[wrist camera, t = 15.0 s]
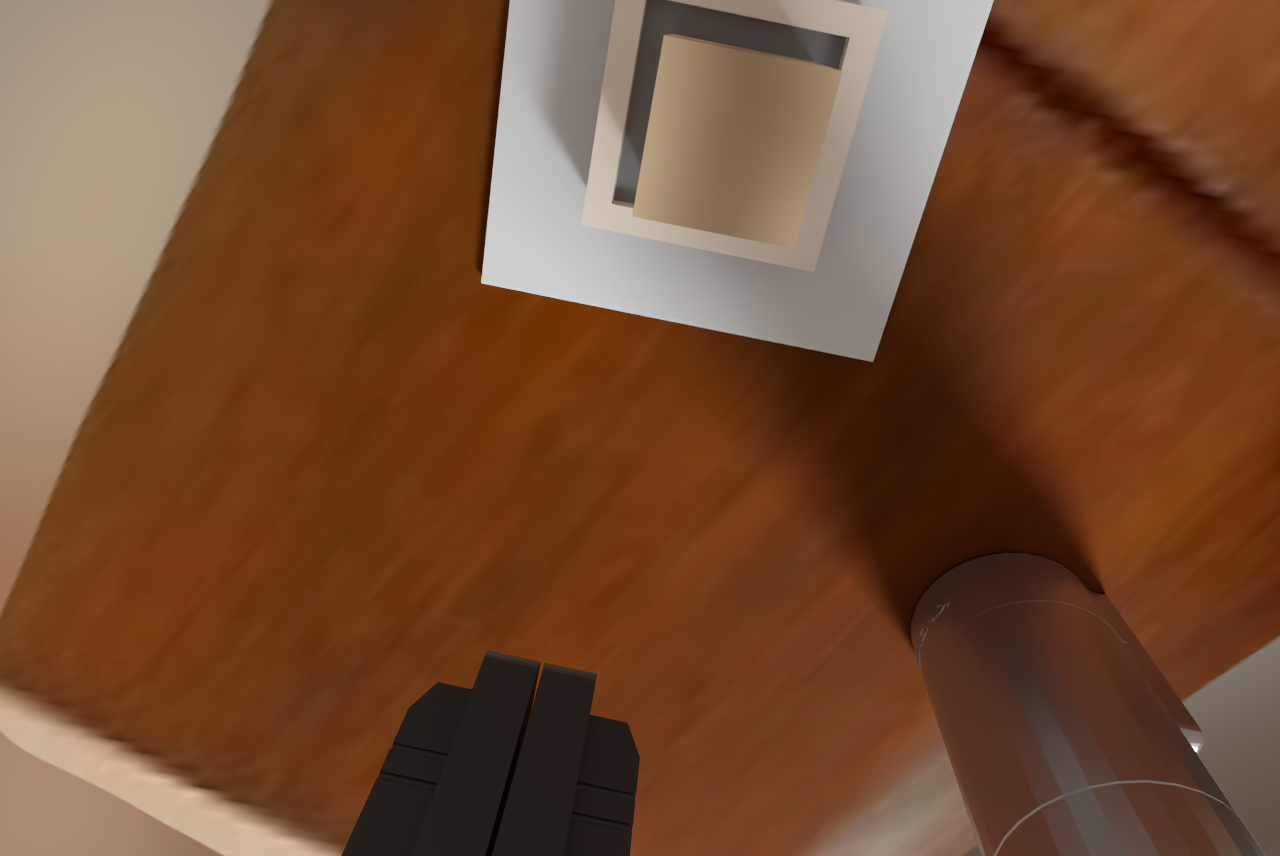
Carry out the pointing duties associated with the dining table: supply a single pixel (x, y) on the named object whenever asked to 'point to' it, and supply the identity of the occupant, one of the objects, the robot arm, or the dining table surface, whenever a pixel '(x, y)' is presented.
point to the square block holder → (699, 260)
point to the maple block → (733, 140)
